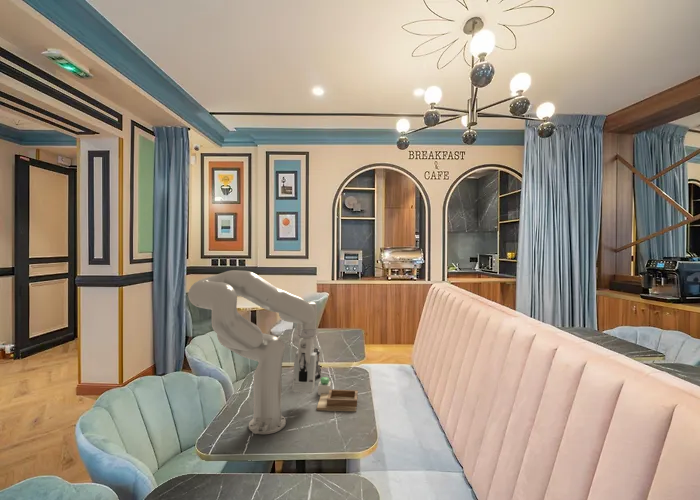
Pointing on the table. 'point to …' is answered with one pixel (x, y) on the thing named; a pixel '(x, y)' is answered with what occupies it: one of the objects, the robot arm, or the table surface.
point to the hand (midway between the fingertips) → (304, 378)
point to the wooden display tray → (338, 400)
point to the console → (324, 388)
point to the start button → (324, 380)
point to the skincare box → (311, 369)
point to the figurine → (318, 369)
